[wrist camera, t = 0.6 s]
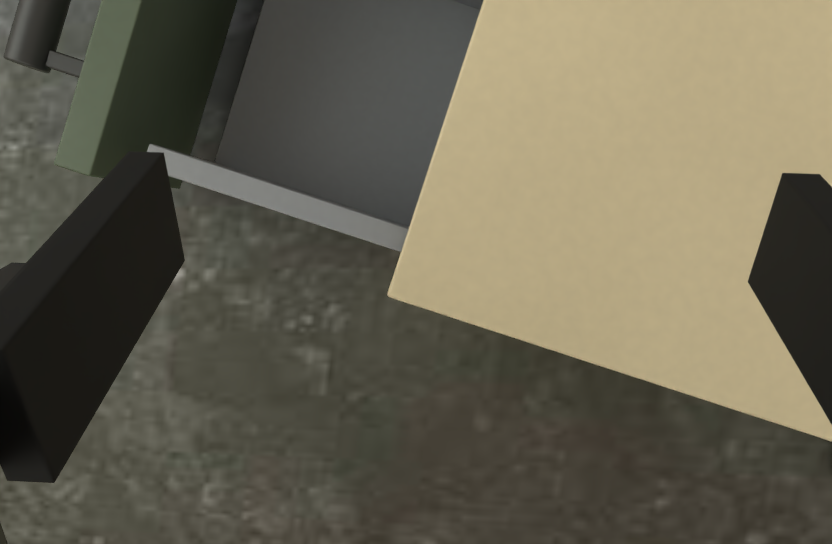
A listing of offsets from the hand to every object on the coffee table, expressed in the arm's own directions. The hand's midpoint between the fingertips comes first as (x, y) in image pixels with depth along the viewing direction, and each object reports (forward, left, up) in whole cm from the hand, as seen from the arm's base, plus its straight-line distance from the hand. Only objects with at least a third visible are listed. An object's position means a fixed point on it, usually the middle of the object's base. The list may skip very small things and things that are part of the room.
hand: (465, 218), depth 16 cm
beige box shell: (+4, -6, -17) cm, 18 cm away
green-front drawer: (+4, +8, -16) cm, 18 cm away
